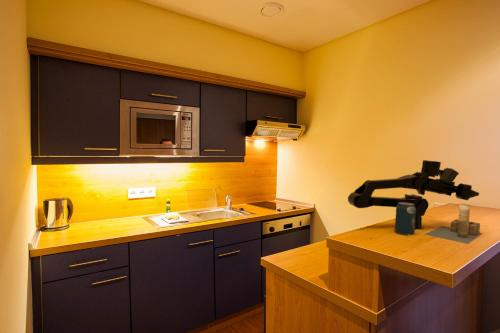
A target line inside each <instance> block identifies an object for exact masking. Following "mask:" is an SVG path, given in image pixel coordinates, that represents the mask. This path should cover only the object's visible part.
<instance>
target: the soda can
mask: <svg viewBox="0 0 500 333" xmlns="http://www.w3.org/2000/svg"><path fill="white" fill-rule="evenodd" d="M414 205H415V204H413V203H407V202H398V205H397V206H396V207H395V208H396V209H395V218H394V220H395V221H394V222H395V223H394V230H395V232H396V233H397V234H399V235H403V236H409V235H413V234H414V233H415V231H416V229H415V216H416V208H415V206H414Z"/></svg>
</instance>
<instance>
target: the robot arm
mask: <svg viewBox="0 0 500 333" xmlns="http://www.w3.org/2000/svg"><path fill="white" fill-rule="evenodd" d="M421 165H422V166H421V170H420V171H416V172H414V173H413V174H406V175H402V176H399V177H396V178H387V179H386V178H383V179H372V180H371V179H366V180H365V181H364V182H363V183H362V184H361V185H359V187H357V188H356V189H355V190H354V191H353V192H351V193H349V195H348V197H347V201H348V203H349V205H351V206H353V207H355V208H357V209H366V208H367V209H368V208H370V207H374V206H375V207H386V208H388V207H389V208H396V206H397V205H398V202H407V203H413V204H415V205H414V206H415V208H416V216H415V230H424V227H422V223H423V222H422V221H423V217H424V216H425V214H426V212H427V209H428V208H429V202H428V200H427V198H423V196H425V194H426V192H429V193H434V194H438V195H444V196H450V197H452V194H455V198H456V199H459V200H464V201H468V200H469V199H471V198H475V197H478V196H480V192H478V191H475V190H474V189H472V188H473V187H472V186H473V185H471V184H466V183H459V184H457V185H455V184H456V181H455V180H456V178H457V176H458V175H459V174H460V173H459V171H457V170H455V169H453V168H449V167H446V168H443V169H441V165H442V162H441V161H437V160H436V161H435V160H428V159H427V160H426V159H425V160H422V163H421ZM436 177H439V178H436ZM388 189H408V190H410V189H411V190H416V192H417V194H418V195H417V194H415V193H414V194H406V193H404V197H389V196H388V197H386V196H373V193H374V192H375V190H388ZM421 195H422V196H421Z"/></svg>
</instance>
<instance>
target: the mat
mask: <svg viewBox="0 0 500 333" xmlns="http://www.w3.org/2000/svg"><path fill="white" fill-rule="evenodd" d="M450 229H451V226H445V225H442V226H440V227H439V226H438V227H437V228H434V229H433V230H431V231H428V232H426V233H425V234H424V235H425V236H429V237H434V238H439V239H442V240H443V239H444V240H446V241H447V240H448V241H452V242H458V243H461V244H467V245H469V244H471V242H473V241H474V240H476V239H477V238H479V237H480V236H481V235H483V233H481V232H480V233H479V234H477V235H476V236H470V235H468V238H461V237H458V233H455V232H450Z"/></svg>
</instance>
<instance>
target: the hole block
mask: <svg viewBox="0 0 500 333" xmlns="http://www.w3.org/2000/svg"><path fill="white" fill-rule="evenodd" d="M458 222H459V218H456V219H454V220H452V221H451V222H450V227H451V229H450V232H455V233H458ZM480 230H481V223H479V222H475V221H470V220H469V229H468V235H470V236H476V235H477V234H479V233H481V232H480Z"/></svg>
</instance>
